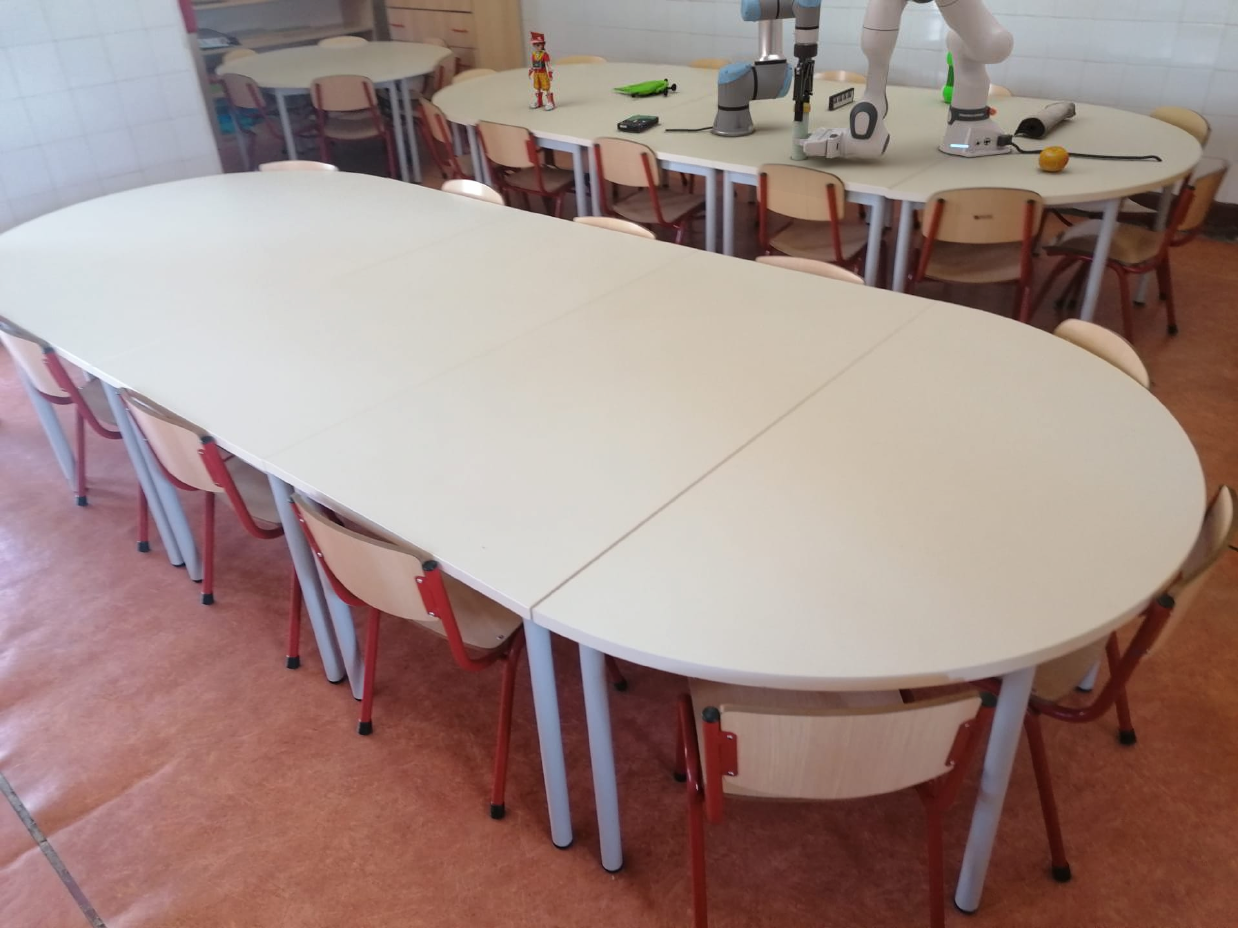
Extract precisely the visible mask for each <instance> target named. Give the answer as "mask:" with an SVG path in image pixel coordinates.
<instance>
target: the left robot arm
mask: <svg viewBox="0 0 1238 928" xmlns="http://www.w3.org/2000/svg"><path fill="white" fill-rule="evenodd" d="M821 6H822V0H741V1H740V15H741V19H742V20H743V21H744V22H753V23H755V22H756V23H757V22H758V28H757V29H758V55H757V56H756V58H755V59H754V65H753V66H752V65H751V63H750V62H748V61H738V62H737V61H736V62H732V63H727V64H726V65H723V66H722V67H720V69H719V70H718V75H717V111H716V114H715V118H714V120H713V124H712V126H706V127H702V128H666V129H664V130H665V132H701V131H706V130H711V129H712V133H713V134H715V135H717V136H721V137H741V136H746V135H750V134H752V133H754V127H755V126H754V122H753V118H752V115H751V111H750V103H751V102H753V101H766V100H776V99H782V98H785V97H786V96H787V95H788V93H789V92H790V89H791V85H792V81H793V93H792V99H791V100H792V102H793V101H794V102H795V103H794V104H795V114H793V122H794V121H799V122H802V121H803V108H804V103H809V104H811V97H812V96H813V95H814V92H813V91H814V75H815V74H814V73H815V65H816V64H815V63H816V60H815V59H813V58H816V57H817V56H818V50H819V44H818V42H819V37H820V19H821V8H822V7H821ZM786 19H795V21H794V24H795V25H794V30H793V32H792V33H793V35H794V39H793V40H794V42H795V43H794V44H793V56H794V58H797V59H798V61H797V64H796V67H794V68H793V67H792V64H791V63H789V62H788V57H787V56H786V55H785V54H784V53H783V52H784V51H783V44H784V43H783V38H784V37H783V30H784V29H783V28H784V27H783V22H784V21H783V20H786ZM793 73H794V74H793ZM793 75H794V77H793Z"/></svg>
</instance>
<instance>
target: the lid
mask: <svg viewBox="0 0 1238 928" xmlns="http://www.w3.org/2000/svg"><path fill="white" fill-rule="evenodd" d="M792 109H793V113H794V112H795V103H794V104H793V108H792ZM811 110H812V104H811V103H810V104H809V103H804V108H803V113H808V112H809V113H810V112H811Z"/></svg>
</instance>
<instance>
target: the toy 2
mask: <svg viewBox="0 0 1238 928" xmlns="http://www.w3.org/2000/svg"><path fill="white" fill-rule="evenodd" d="M669 85H670V83H669V79H668V78H664V79H663V80H649V81H644V82H640V83H634V84H629V85H627V86H621V87H613V88H612V89H613V90H616V91H619V92H623V93H627V94H628V93H629V94H631V95H630V96H631V98H632V99H634V98H636V96H637V95H650V94H652V93H654V94H658V93H662V95H663V96H665V97H667V96H668V95H669V90H671V91H672V92H676V91H677V84H676V83H672V84H671V86H669Z"/></svg>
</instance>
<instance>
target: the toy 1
mask: <svg viewBox="0 0 1238 928" xmlns="http://www.w3.org/2000/svg"><path fill="white" fill-rule="evenodd" d="M529 33H530V35H531V36H528V37H527V38H528V39H529V40H528V41H527V43H529V44H530V43H531V44H532V48H533V50H534V51H533V52H532V55H531V58H530V59H531V63H530V66H528V74H527V75H528V76H527V77H528V79H529V80H531V75H532V74H533V84H532V85H533V86H532V87H533V88H534V89H535V90H536V92H534V95H535V97H536V100H535V101H533V102H531V105H530V108H531V109H535V108H538V107H542V106H544V101H543V100H544V99H543V95H544V92H546V94H545V97H546V99H547V103H546V104H545V106H544V110H546V111H549V110H553V109H554V107H555V106H556V105H555V99H554V92H551V91H550V90H551V86H552V84H551V82H552V81H553V80H554V77H553V73H554V71H555V70H554V69H552V68H551V63H550V61H551V59H550V58H551V57H550V54H549V53H548V52H547V50H546V48H545V46H546V44H547V41H545V35H544V33H543V32H542V33H539V32H535V31H529Z"/></svg>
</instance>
